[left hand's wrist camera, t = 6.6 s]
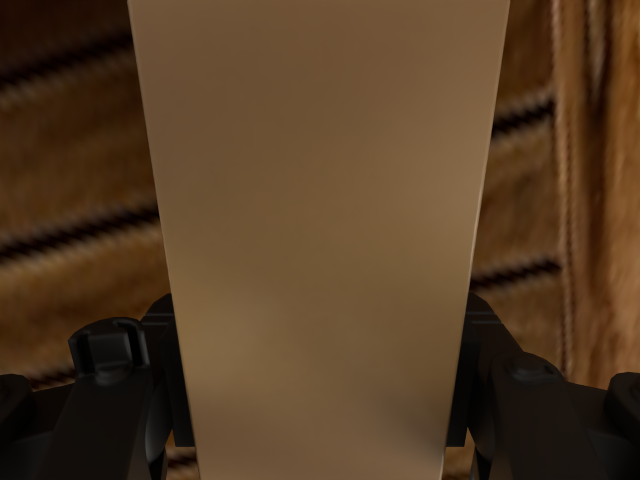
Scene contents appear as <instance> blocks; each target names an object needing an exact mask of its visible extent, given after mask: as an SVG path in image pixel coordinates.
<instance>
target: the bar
mask: <svg viewBox="0 0 640 480" xmlns="http://www.w3.org/2000/svg"><path fill="white" fill-rule="evenodd" d="M127 3H128V10H129V17H130V23H131V30H132V36H133V43H134V49H135V56H136V63H137V69H138V76H139V82H140V89H141V96H142V102H143V109H144V115H145V122H146V129H147V135H148V142H149V148H150V155H151V162H152V168H153V175H154V181H155V188H156V195H157V201H158V208H159V214H160V221H161V227H162V234H163V241H164V247H165V254H166V260H167V267H168V274H169V280H170V287H171V293H172V300H173V307H174V313H175V320H176V326H177V333H178V340H179V346H180V353H181V359H182V366H183V372H184V379H185V386H186V392H187V399H188V405H189V412H190V419H191V425H192V432H193V438H194V445H195V452H196V458H197V465H198V471H199V478H200V480H441V477H442V470H443V463H444V456H445V449H446V442H447V436H448V429H449V422H450V415H451V408H452V401H453V394H454V387H455V380H456V373H457V366H458V359H459V352H460V345H461V338H462V332H463V325H464V318H465V311H466V304H467V297H468V290H469V283H470V276H471V269H472V262H473V255H474V248H475V241H476V234H477V227H478V221H479V214H480V207H481V200H482V193H483V186H484V179H485V172H486V165H487V158H488V151H489V144H490V137H491V130H492V123H493V117H494V110H495V103H496V96H497V89H498V82H499V75H500V68H501V61H502V54H503V47H504V40H505V33H506V26H507V19H508V12H509V6H510V0H127Z"/></svg>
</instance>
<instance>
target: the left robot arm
mask: <svg viewBox="0 0 640 480" xmlns="http://www.w3.org/2000/svg"><path fill="white" fill-rule="evenodd" d="M68 343H69V347H70V351H71V355H72V359H73V362H74V366H75V370H76V374H77V378H76V381H75V383H72V384H68V385H65V386H60V387H55V388H50V389H46V390H41V391H36V392H33V391H32V388H31V385H30V382H29V380H28V379H27V378H25V377H24V376H23V375H16V374H6V375H0V480H166V475H167V466H168V461H167V454H166V449H165V444H166V442H167V439H168V437H169V435H170V432H171V430H172V429H173V435H174V440H175V446H176V447H195V445H194V438H193V432H192V425H191V419H190V412H189V405H188V399H187V392H186V386H185V379H184V372H183V366H182V359H181V353H180V346H179V340H178V333H177V326H176V320H175V313H174V307H173V300H172V293H168V294H166V295H165V296H163V297H162V298H160V299H159V300H157V301H156V302H154V303H153V304H152V306H151V307H150V308H149V310H148V311H147V312H146V314H145V316H143V318H142V319H141V321H138V320H137V319H133V318H129V317H113V318H108V319H103V320H99V321H96V322H94V323H91V324H89V325H86V326H84V327H83V328H81V329H80V330H78V331H76V332H75V333H74V334H73V335H72V336H71V337H70V338H69V340H68ZM467 427H468V428H469V431H470V433H471V436H472V438H473V440H474V443H475V449H474V454H473V460H472V465H471V471H470V476H469V480H640V373H633V372H625V373H618V374H616V375H615V376H614V377H612V378H611V380H610V383H609V387H608V390H603V389H598V388H593V387H589V386H584V385H579V384H574V383H571V382H567V381H565V380H564V378H563V376H562V374H561V373H560V372H559V370H558V369H557V368H556V367H555V366H554V365H552V364H551V363H550V362H548V361H547V360H545V359H543V358H541V357H539V356H536V355H534V354H531V353H527V352H523V350H522V349H521V347H520V346H519V345H518V343H517V342H516V341H515V339H514V338H513V337H512V335H511V334H510V333H509V331H508V330H507V329H506V327H505V326H504V325H503V324H501V321H500V319H499V318H498V316H497V315H495V314H494V311H493V310H492V308H491V307H490V306H489V304H488V303H487V302H486V301H485V300H483V299H482V298H480V297H479V296H477V295H476V294H474V293H473V292H468V297H467V304H466V311H465V318H464V325H463V332H462V338H461V345H460V352H459V359H458V366H457V373H456V380H455V387H454V394H453V401H452V408H451V415H450V422H449V429H448V436H447V442H446V447H464V445H465V439H466V433H467Z"/></svg>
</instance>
